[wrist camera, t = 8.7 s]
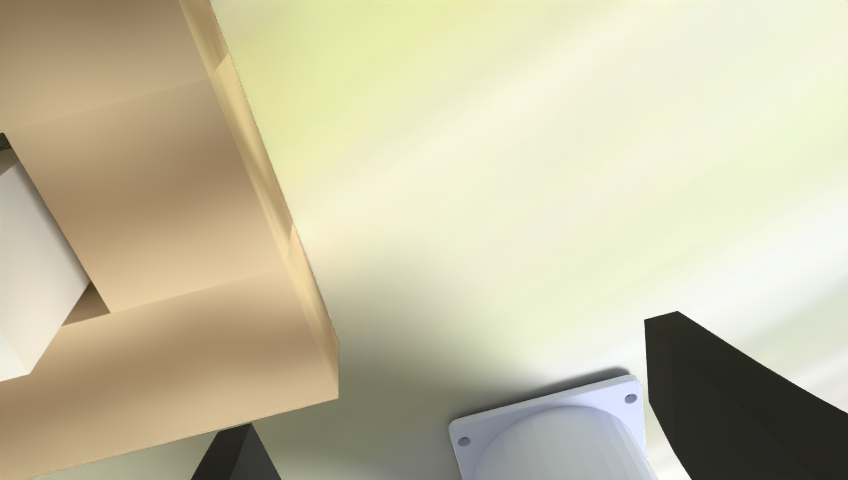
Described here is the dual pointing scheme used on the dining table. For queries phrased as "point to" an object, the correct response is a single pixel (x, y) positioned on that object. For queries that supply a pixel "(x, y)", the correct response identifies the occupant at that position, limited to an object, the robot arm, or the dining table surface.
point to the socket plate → (153, 237)
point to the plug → (31, 271)
